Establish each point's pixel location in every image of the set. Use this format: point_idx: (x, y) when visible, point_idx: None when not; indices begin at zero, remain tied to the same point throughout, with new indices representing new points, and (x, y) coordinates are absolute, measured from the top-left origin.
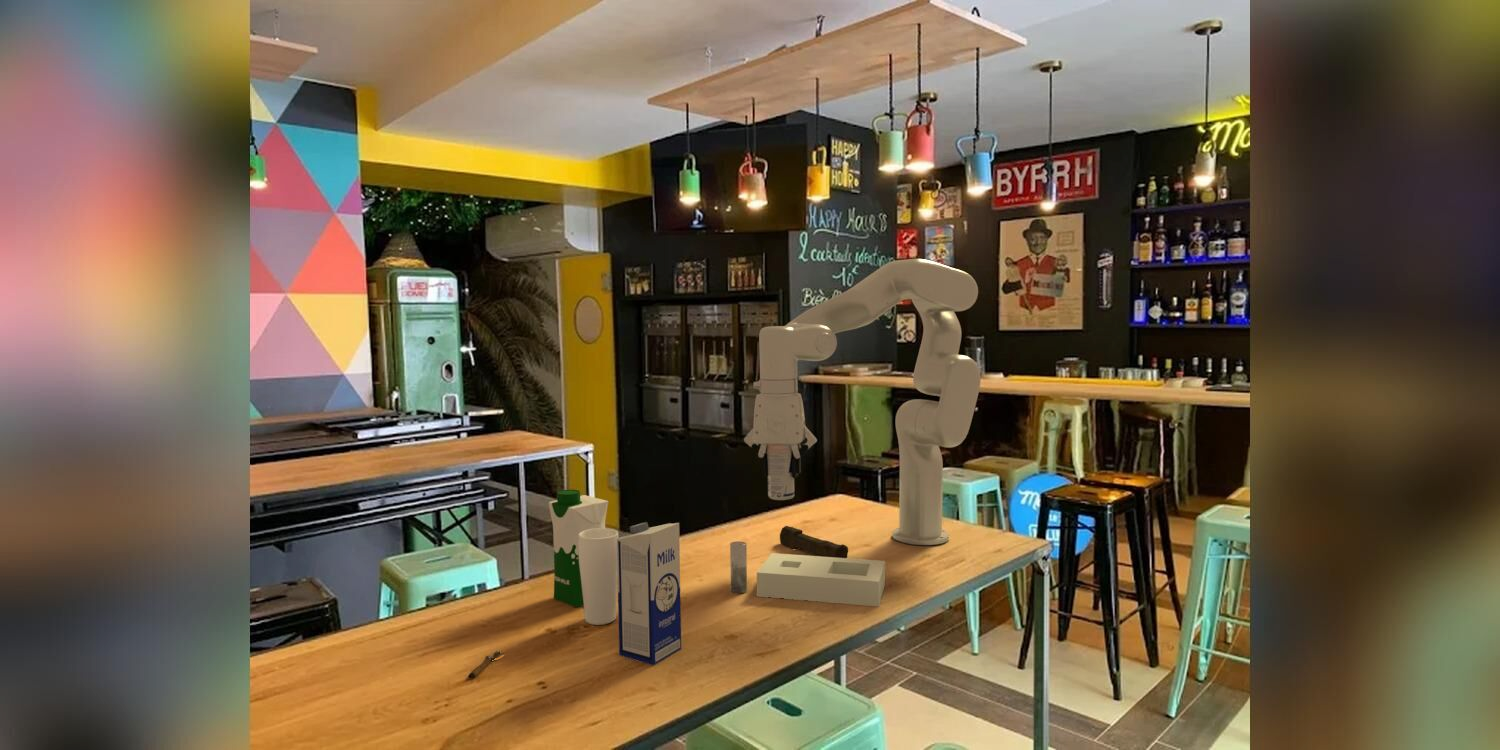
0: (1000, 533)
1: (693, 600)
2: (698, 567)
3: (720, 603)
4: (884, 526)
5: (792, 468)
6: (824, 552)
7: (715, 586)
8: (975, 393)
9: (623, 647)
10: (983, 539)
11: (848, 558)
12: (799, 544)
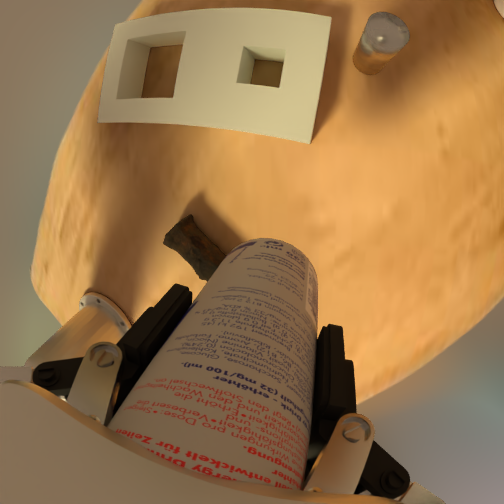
0: (58, 319)
1: (432, 35)
2: (446, 203)
3: None
4: None
5: (168, 314)
6: (207, 242)
7: (412, 91)
8: None
9: None
10: (62, 305)
11: (146, 122)
12: None
